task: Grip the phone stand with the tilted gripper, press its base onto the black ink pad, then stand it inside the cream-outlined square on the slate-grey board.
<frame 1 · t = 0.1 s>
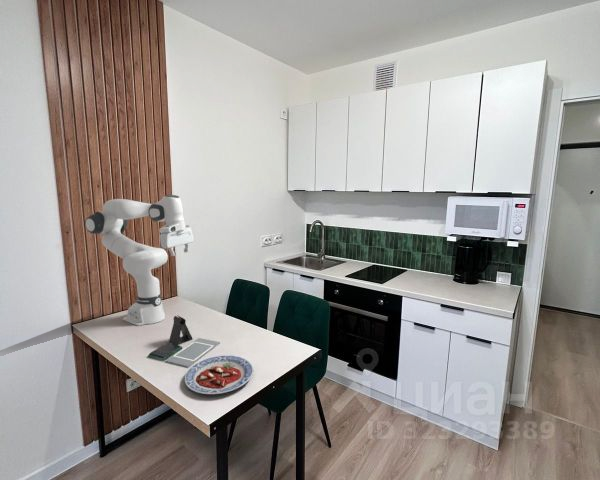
hand: (180, 254, 168), 39 cm above the table, tool pointing down, fingers open, 8 cm apart
phone stand: (180, 341, 157), on the table
ink pad: (165, 352, 146), on the table
ceramic plate: (220, 378, 128), on the table
marked board: (194, 352, 147), on the table
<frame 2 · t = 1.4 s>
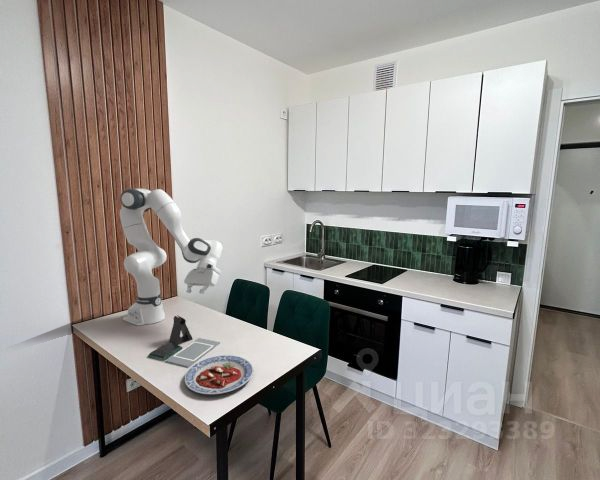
hand: (194, 292, 164), 20 cm above the table, tool tilted 45°, fingers open, 8 cm apart
nothing on the table moved.
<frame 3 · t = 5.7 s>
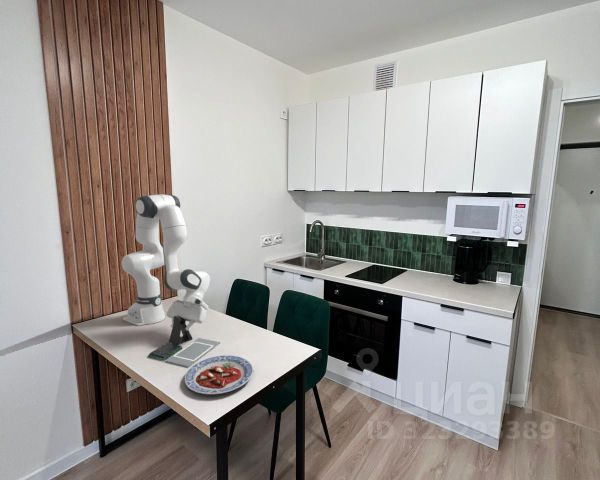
hand: (179, 328, 156), 6 cm above the table, tool tilted 45°, fingers closed on phone stand, 6 cm apart
phone stand: (180, 341, 157), on the table, touching gripper
everything else where it was.
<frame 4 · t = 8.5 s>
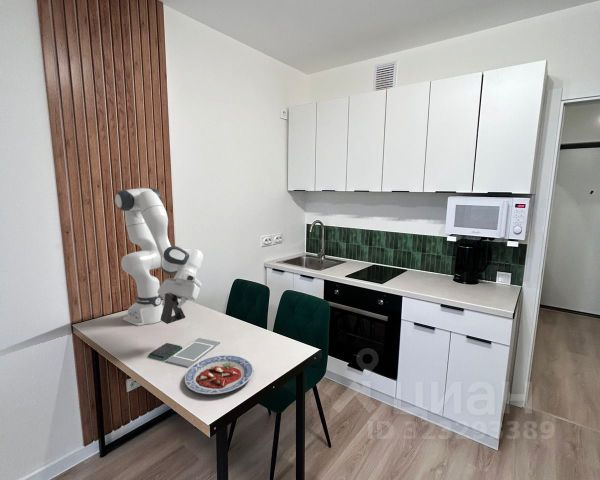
hand: (170, 306, 148), 20 cm above the table, tool tilted 45°, fingers closed on phone stand, 6 cm apart
phone stand: (173, 319, 150), point 13 cm above the table, touching gripper
everything else where it was.
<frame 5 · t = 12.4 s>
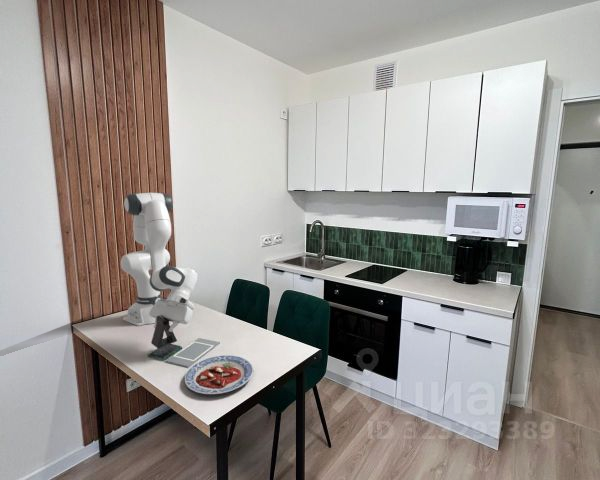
hand: (162, 329, 144), 11 cm above the table, tool tilted 45°, fingers closed on phone stand, 6 cm apart
phone stand: (164, 342, 146), point 5 cm above the table, touching gripper
everything else where it was.
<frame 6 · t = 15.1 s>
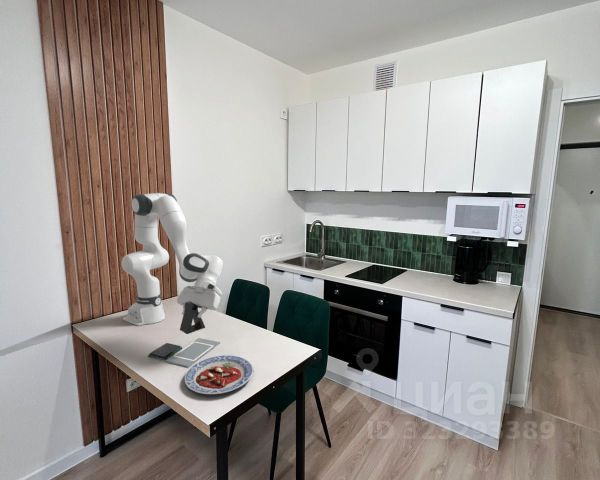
hand: (190, 316, 143), 17 cm above the table, tool tilted 45°, fingers closed on phone stand, 6 cm apart
phone stand: (192, 329, 145), point 11 cm above the table, touching gripper
everything else where it was.
when the fingers open (8 cm above the table, at t = 17.9 s): phone stand drops 2 cm, resting on marked board.
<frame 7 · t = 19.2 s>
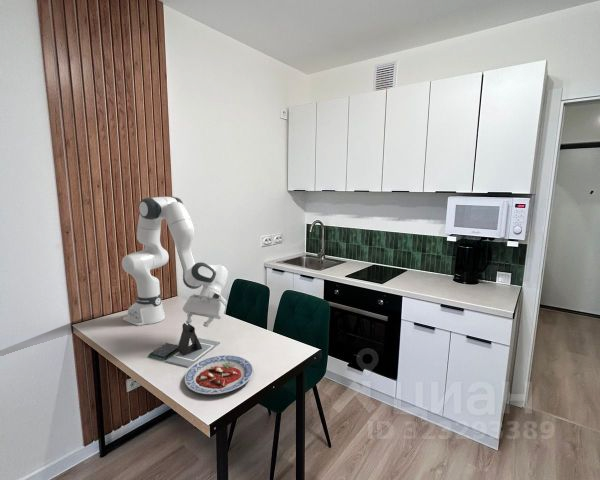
hand: (196, 324, 148), 12 cm above the table, tool tilted 45°, fingers open, 8 cm apart
phone stand: (189, 350, 148), resting on marked board
everything else where it was.
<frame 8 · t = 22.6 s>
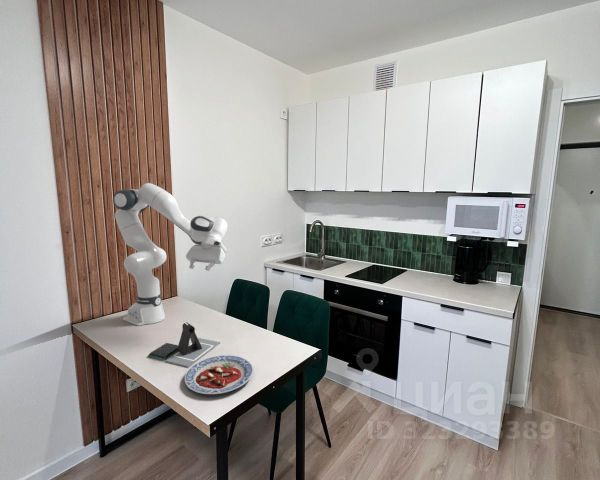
hand: (198, 269, 159), 33 cm above the table, tool tilted 45°, fingers open, 8 cm apart
nothing on the table moved.
at the end: phone stand inside the target area on the marked board (2.4 cm from its centre), point 0.5 cm above the marked board's base; phone stand tilted 1°; the gripper is holding nothing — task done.
